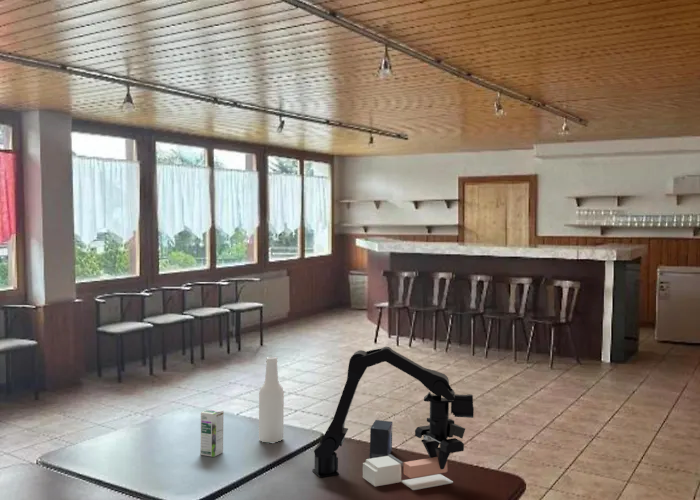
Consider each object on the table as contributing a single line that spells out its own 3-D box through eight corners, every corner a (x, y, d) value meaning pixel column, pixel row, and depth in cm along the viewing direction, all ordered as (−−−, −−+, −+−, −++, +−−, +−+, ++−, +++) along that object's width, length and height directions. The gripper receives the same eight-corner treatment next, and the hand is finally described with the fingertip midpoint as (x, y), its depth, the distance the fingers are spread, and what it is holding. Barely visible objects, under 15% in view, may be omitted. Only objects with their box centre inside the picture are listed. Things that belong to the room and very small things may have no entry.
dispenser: (374, 486, 196) (375, 466, 196) (362, 477, 203) (362, 458, 203) (402, 481, 200) (403, 462, 200) (390, 472, 207) (390, 454, 207)
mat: (413, 490, 193) (413, 488, 193) (401, 481, 200) (401, 480, 200) (453, 482, 199) (453, 481, 199) (440, 475, 206) (440, 473, 206)
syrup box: (199, 455, 222) (199, 412, 221) (209, 450, 227) (209, 408, 227) (214, 457, 220) (214, 414, 219) (223, 452, 225) (224, 409, 225)
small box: (388, 461, 218) (388, 429, 218) (369, 459, 219) (369, 428, 219) (392, 450, 229) (393, 420, 228) (374, 449, 230) (374, 419, 230)
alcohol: (255, 442, 235) (255, 359, 235) (263, 435, 244) (264, 354, 243) (278, 444, 233) (279, 360, 233) (286, 437, 242) (287, 355, 241)
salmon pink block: (410, 478, 195) (410, 466, 195) (403, 473, 198) (403, 462, 198) (447, 471, 200) (447, 460, 200) (440, 467, 204) (440, 456, 204)
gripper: (479, 420, 196) (478, 473, 196) (444, 405, 213) (443, 453, 213) (447, 425, 191) (447, 478, 192) (414, 409, 208) (413, 458, 208)
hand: (438, 466), depth 201 cm, fingers closed on salmon pink block, 4 cm apart
